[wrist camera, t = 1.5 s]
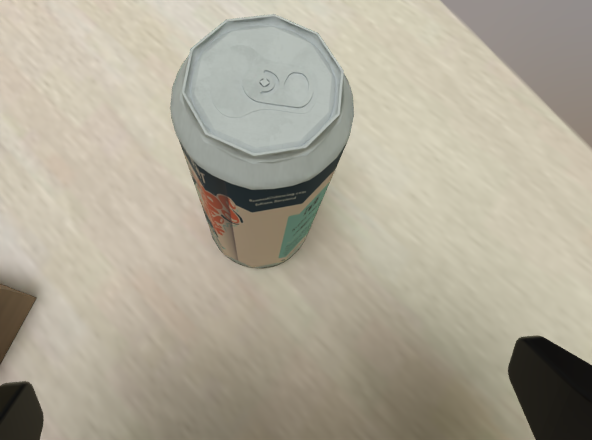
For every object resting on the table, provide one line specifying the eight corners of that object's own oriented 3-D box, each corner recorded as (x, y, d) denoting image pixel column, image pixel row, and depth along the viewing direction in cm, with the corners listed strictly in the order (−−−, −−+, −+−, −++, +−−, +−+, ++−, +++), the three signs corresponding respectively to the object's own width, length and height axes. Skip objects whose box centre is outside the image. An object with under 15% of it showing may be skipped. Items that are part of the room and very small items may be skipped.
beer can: (218, 171, 23) (182, -14, 12) (311, 183, 23) (367, 14, 12) (202, 264, 22) (144, 158, 10) (302, 275, 22) (355, 186, 10)
